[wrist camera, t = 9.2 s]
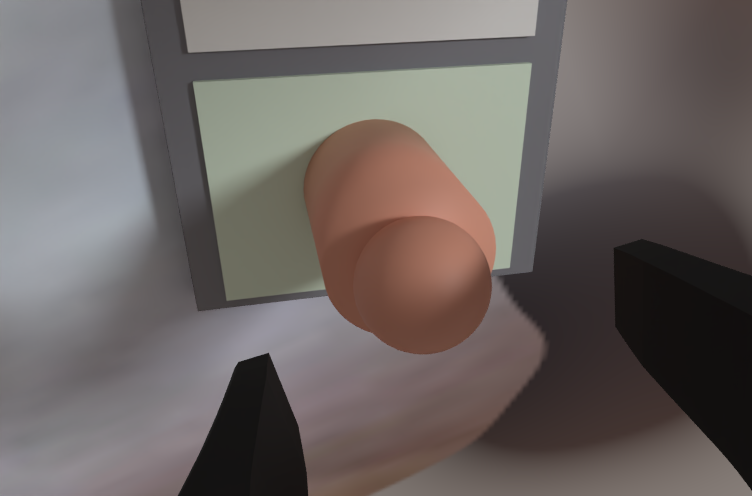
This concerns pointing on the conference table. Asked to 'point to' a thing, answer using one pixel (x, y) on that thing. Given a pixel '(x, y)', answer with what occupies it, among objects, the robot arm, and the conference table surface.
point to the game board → (343, 118)
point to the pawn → (398, 237)
